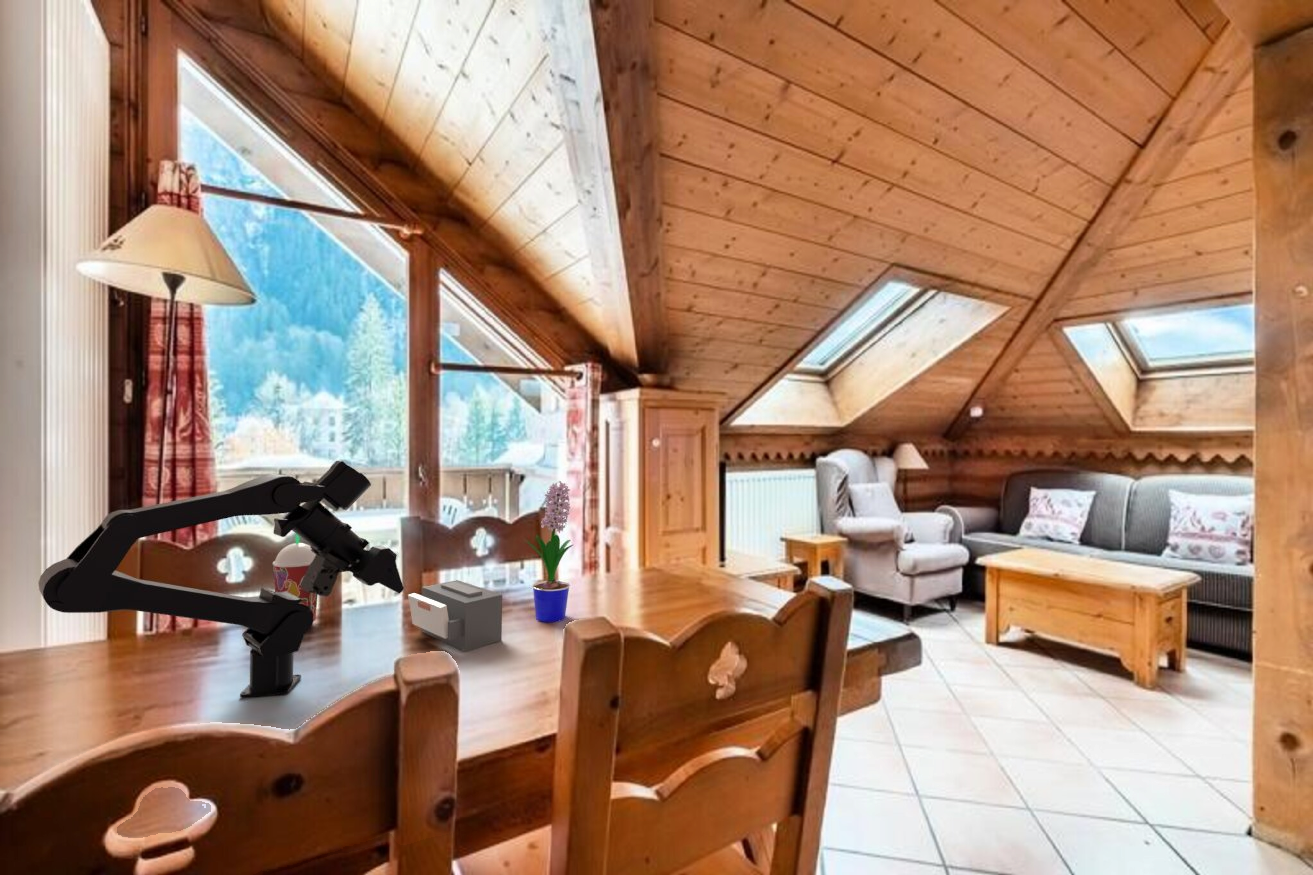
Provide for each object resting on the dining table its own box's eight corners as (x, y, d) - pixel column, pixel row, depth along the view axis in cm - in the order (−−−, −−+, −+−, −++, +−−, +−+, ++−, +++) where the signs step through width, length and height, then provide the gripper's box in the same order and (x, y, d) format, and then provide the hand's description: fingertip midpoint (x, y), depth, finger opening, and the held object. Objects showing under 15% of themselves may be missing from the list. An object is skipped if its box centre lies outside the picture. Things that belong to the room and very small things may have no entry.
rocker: (443, 639, 109) (439, 608, 108) (411, 624, 117) (406, 595, 116) (451, 636, 110) (446, 605, 110) (418, 621, 118) (413, 592, 117)
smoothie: (328, 622, 125) (330, 527, 125) (301, 636, 117) (302, 533, 117) (291, 620, 126) (292, 525, 126) (261, 633, 118) (262, 532, 117)
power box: (452, 655, 108) (453, 602, 108) (409, 634, 119) (409, 586, 119) (501, 640, 116) (502, 591, 116) (456, 622, 127) (457, 577, 127)
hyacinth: (521, 613, 134) (523, 479, 133) (567, 610, 137) (569, 479, 137) (524, 626, 125) (527, 483, 125) (573, 622, 128) (576, 482, 128)
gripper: (265, 562, 101) (333, 613, 109) (307, 582, 89) (380, 638, 97) (316, 511, 107) (377, 563, 115) (363, 523, 95) (427, 581, 103)
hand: (389, 586), depth 107 cm, fingers open, 9 cm apart
